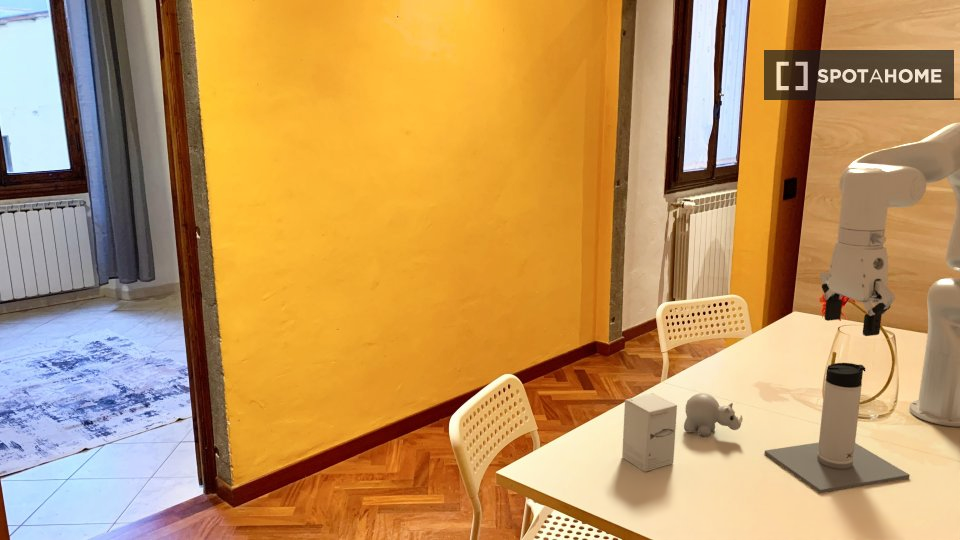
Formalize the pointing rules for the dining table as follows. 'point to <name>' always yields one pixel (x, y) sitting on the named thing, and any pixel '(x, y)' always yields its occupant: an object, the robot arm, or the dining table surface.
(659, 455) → the supplement box
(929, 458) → the dining table surface
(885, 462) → the mat
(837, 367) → the travel mug
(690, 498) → the dining table surface
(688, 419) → the chubby cartoon animal
